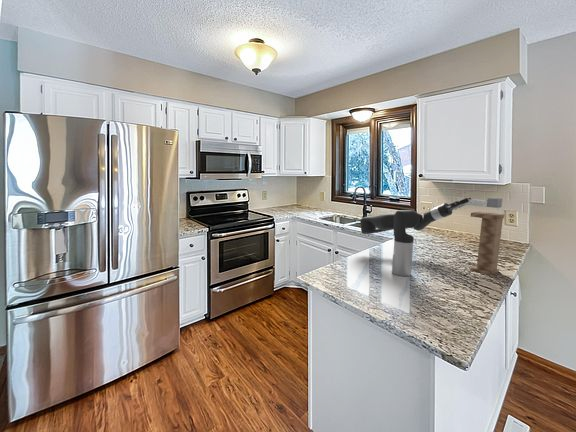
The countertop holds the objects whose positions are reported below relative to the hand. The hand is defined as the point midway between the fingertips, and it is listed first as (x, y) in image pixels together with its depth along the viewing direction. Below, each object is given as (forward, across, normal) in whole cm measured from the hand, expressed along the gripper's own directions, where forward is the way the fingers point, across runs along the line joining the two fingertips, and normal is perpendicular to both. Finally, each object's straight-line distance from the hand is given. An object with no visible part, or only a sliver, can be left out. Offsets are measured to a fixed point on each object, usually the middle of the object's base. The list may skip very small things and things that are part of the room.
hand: (469, 199), depth 162 cm
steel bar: (+2, 0, -5) cm, 5 cm away
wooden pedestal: (-10, 0, -37) cm, 39 cm away
